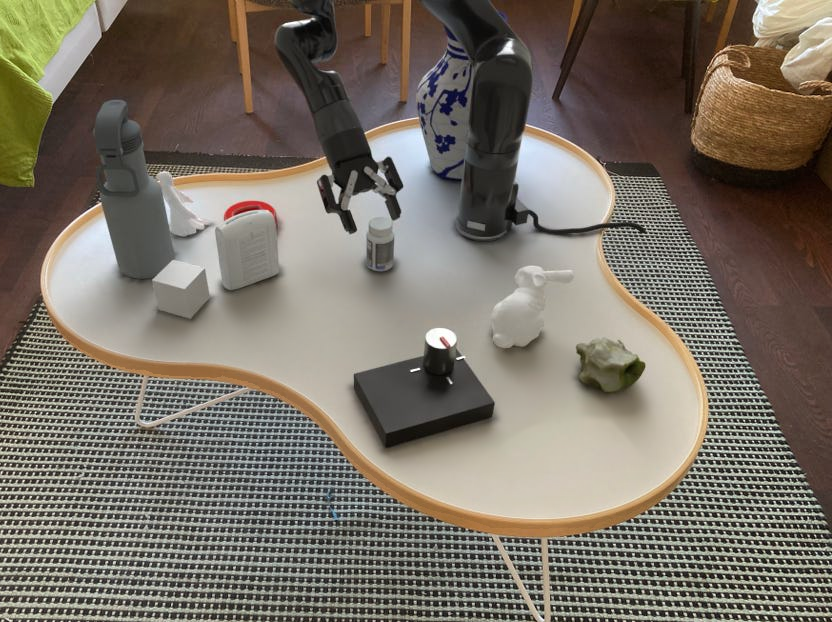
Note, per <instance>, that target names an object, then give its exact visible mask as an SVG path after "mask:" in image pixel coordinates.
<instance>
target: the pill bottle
mask: <svg viewBox="0 0 832 622" xmlns="http://www.w3.org/2000/svg"><path fill="white" fill-rule="evenodd" d="M393 229H394V224H393V221H392V219H391V218H389V217H385V216H376V217H372V218H371V219H370V220H369V221H368V230H367V232H366V253H365V254H366V256H365V257H366V259H365V260H366V267H368V268H369V269H370V270H372V271H375V272H386V271H388V270H390V269H391V268H392V267H393V266H394V259H395V255H394V254H395V233H394V231H393Z"/></svg>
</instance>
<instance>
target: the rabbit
mask: <svg viewBox="0 0 832 622" xmlns="http://www.w3.org/2000/svg"><path fill="white" fill-rule="evenodd" d="M574 277H575V273H574V271H573V270H571V269H567V270H548V271H544V270H543V268H541V267H540V266H538V265H525V266H522V267H521V268H520V269H518V270H517V272H516V275H514V281H515V282H516V283H517V284H518V287H517V288H515V290H514V291H513V293H512V294H510V295H508V296H506V297H505V298H504V299H503V300H501V301H499V302H498V303H497V304H496V305H495V307H494V308H493V309H492V314H491V329H492V332H493V333H492V334H493V336H492V342H493V343H494V344H495V345H496V347H499V348H502V349H509V348H512V347H513V346H515V347H521V348H522V347H526V346H527V345H528V344H530V342H532V341H533V340H535V339H537V338H538V337H539V336H540V332H541V331H542V330H543V327H544V324H545V317H544V316H543V315H542V312H543V311H544V309H545V305H546V304H545V303H546V296H545V291H544V289H545V287H546V285H547V282H551V283H559V284H560V283H561V284H570V283H572V282H573V280H574Z"/></svg>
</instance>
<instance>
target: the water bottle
mask: <svg viewBox="0 0 832 622" xmlns="http://www.w3.org/2000/svg"><path fill="white" fill-rule="evenodd" d="M127 104H128V103H127V102H126V101H125V100H122V99H111V100H108V101H107V100H106V101H105V102H103V103H102V105H101V108H100V109H99V111H98V113H97V114H96V118H95V121H94V128H93V130H92V137H93V139H94V142H95V147H96V152H97V155H98V156H99V157H100V161H101V164H99V165H97V166H96V168H95V170H94V173H95V174H94V175H95V177H96V181H97V186H98V190H99V198H100V199H99V200H100V204H101V207H102V211H103V215H104V219H105V221H106V226H107V229H108V233H109V238H110V241H111V245H112V249H113V252H114V256H115V260H116V263H117V266H118V267H117V268H118V269H119V271H120V272H121V273H123V275H125V276H127V277H129V278H133V279H138V280H139V279H141V280H143V279H154V278H155V277H156V276H157V275H158V274H159V273H160V272H161V271H162V270H163V269H164V268H165V267H166V266H167V265H168V264H169V263H170V262H171V261H172V260H176V254H175V248H174V244H173V237H172V234H171V233H172V232H171V231H170V227H169V224H170V222H169V219H168V214H167V208H166V204H165V203H166V202H165V199H164V196H163V193H162V189H161V183H160V181H159V180H156V178H154V177H153V176H151V175H149V172H148V167H147V163H146V157H145V153H144V149H143V148H144V141H143V135H142V130H141V126H140V125H139V123H137V122H136V121H134V120H131V119H129V117H128V115H127V113H128V111H129V109H128V105H127ZM102 171H103V174H104V176H105V177H104V178H105V180H106V182H105V183H104V182H103V181H104V180H103V177H102Z"/></svg>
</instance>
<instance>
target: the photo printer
mask: <svg viewBox="0 0 832 622" xmlns="http://www.w3.org/2000/svg"><path fill="white" fill-rule="evenodd" d="M214 233H215V242H216V248H217V255H218V256H217V257H218V264H219V270H220V277H221V283H222V286H223V287H224V288H225V289H227V290H229V291H235V290H238V289H240V288H245V287H247V286H250V285H253V284H255V283H257V282H260V281H264V280H266V279H269V278H272V277H274V276H276V275H278V274H279V273H280V262H279V250H278V237H277V235H278V234H277V231H276V223H275V219H274V217H273V215H272V213H270V212H269V211H268V210H254V211H248V212H244V213H241V214H238V215H236V216H233V217H231V218H229V219H227V220H225V221H224V220H223V221H222V222H221V223H219V224H218V225H217V226H216V227H215V230H214Z"/></svg>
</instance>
